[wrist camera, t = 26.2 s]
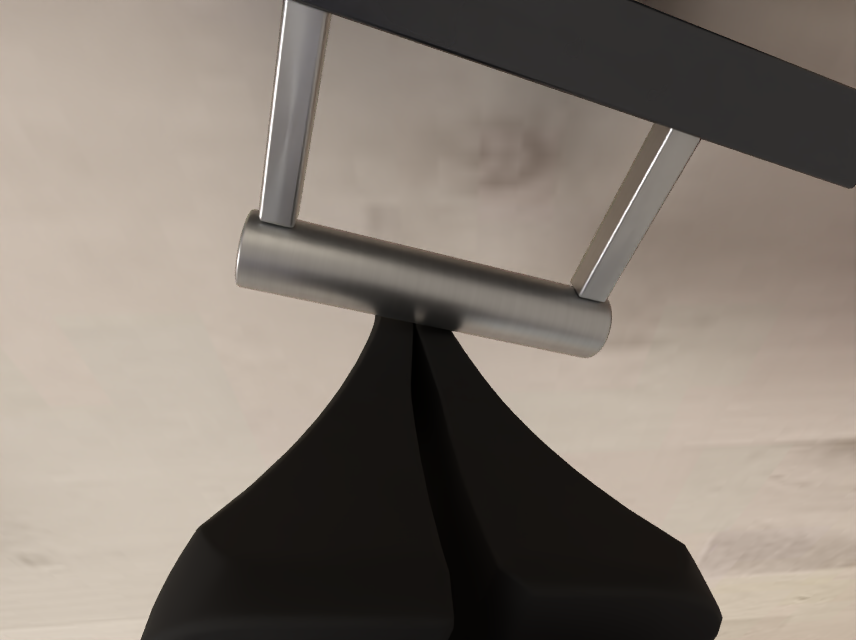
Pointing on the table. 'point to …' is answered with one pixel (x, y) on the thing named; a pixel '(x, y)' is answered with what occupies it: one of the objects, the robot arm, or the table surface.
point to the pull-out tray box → (561, 70)
